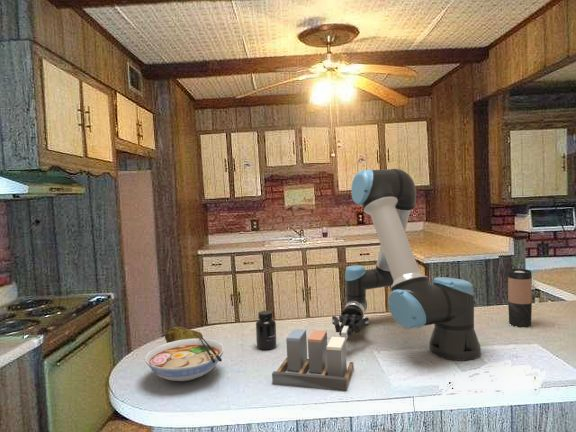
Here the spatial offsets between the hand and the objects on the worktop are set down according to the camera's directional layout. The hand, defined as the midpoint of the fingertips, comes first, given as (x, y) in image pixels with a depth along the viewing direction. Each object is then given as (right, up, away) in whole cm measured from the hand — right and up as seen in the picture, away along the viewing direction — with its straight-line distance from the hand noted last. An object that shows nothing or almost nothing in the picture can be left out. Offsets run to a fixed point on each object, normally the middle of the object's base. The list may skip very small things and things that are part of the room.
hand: (343, 336), depth 134 cm
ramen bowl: (-47, -10, -7) cm, 49 cm away
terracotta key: (-8, -8, -5) cm, 12 cm away
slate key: (-14, -8, -3) cm, 17 cm away
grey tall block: (-3, -8, -11) cm, 14 cm away
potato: (-53, -9, +16) cm, 56 cm away
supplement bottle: (-24, -8, +14) cm, 29 cm away
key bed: (-10, -8, -11) cm, 17 cm away
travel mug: (+68, -3, +25) cm, 72 cm away
